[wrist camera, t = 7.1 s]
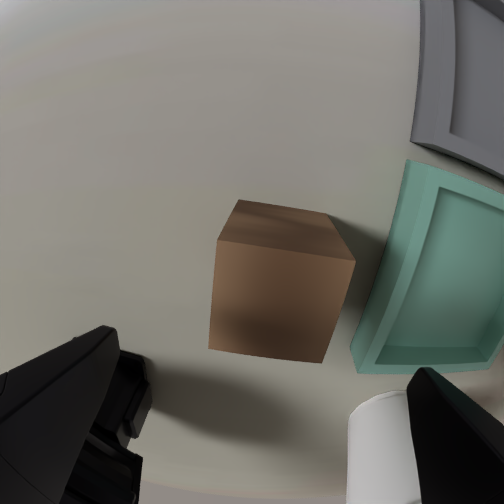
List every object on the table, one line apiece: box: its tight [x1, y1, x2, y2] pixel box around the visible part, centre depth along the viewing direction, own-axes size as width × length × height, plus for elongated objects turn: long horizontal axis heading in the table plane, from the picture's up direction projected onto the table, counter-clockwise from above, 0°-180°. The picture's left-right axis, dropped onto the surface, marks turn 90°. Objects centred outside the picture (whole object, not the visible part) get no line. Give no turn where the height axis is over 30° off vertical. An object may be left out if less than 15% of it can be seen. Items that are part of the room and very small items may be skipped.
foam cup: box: [346, 391, 422, 504], centre depth 15 cm, size 10×9×13 cm
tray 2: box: [350, 160, 504, 374], centre depth 14 cm, size 12×12×2 cm
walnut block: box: [208, 200, 356, 363], centre depth 13 cm, size 4×4×6 cm
